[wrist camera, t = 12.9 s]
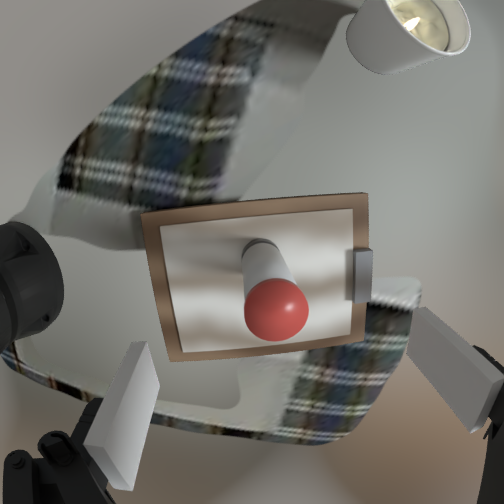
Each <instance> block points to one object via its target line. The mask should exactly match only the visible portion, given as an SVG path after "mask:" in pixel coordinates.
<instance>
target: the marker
mask: <svg viewBox="0 0 504 504" xmlns="http://www.w3.org/2000/svg"><path fill="white" fill-rule="evenodd" d="M241 258H242V272H243V286H244V300H245V302H244V319H245V323H246V325H247V327H248V329H249V330H250V331H251V332H252V333H253V334H254V335H255V336H256V337H258V338H260V339H263V340H266V341H273V342H276V341H283V340H286V339H289V338H291V337H293V336H294V335H296V334H297V333H298V332H299V331H300V330H301V329H302V328H303V327H304V325H305V323H306V321H307V319H308V315H309V306H308V302H307V300H306V298H305V296H304V294H303V292H302V291H301V289H300V288H299V287H298V286H297V284H296V282H295V280H294V278H293V276H292V274H291V272H290V270H289V268H288V266H287V264H286V262H285V260H284V258H283V256H282V255H281V253H280V251H279V249H278V247H277V246H276V244H275V243H273V242H272V241H270V240H268V239H264V238H258V239H254V240H252V241H250V242H249V243H248V244H247V245H246V246H245V247H244V249H243V251H242V256H241Z"/></svg>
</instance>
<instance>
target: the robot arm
mask: <svg viewBox="0 0 504 504" xmlns="http://www.w3.org/2000/svg"><path fill="white" fill-rule="evenodd" d="M63 300H64V284H63V278H62V273H61V270H60V267H59V264H58V261H57V259H56V257H55V255H54V253H53V251H52V249H51V248H50V246H49V245H48V243H47V242H46V241H45V239H44V238H43V237H42V236H41V235H40V234H39V233H38V232H37V231H36V230H34V229H33V228H31V227H30V226H28V225H26V224H23V223H19V222H9V223H6V224H3V225H0V354H1V353H2V352H3V351H4V350H5V349H6V348H7V347H8V346H9V345H10V344H11V343H12V342H13V341H15V340H18V339H21V338H25V337H28V336H31V335H34V334H37V333H40V332H42V331H43V330H45V329H46V328H47V327H48V326H49V325H50V324H51V323H52V322H53V321H54V320H55V319H56V318H57V317H58V315H59V313H60V311H61V308H62V305H63ZM406 354H407V355H408V356H409V357H410V359H411V360H412V361H413V362H414V364H415V365H416V366H417V367H418V368H419V370H420V371H421V372H422V373H423V374H424V376H425V377H426V378H427V379H428V380H429V382H430V383H431V384H432V385H433V387H434V388H435V389H436V390H437V392H438V393H439V394H440V395H441V397H442V398H443V399H444V400H445V402H446V403H447V404H448V405H449V407H450V408H451V409H452V410H453V412H454V413H455V414H456V416H457V417H458V418H459V419H460V421H461V422H462V423H463V425H464V426H465V427H466V428H467V430H468V431H469V432H470V433H471V432H474V431H476V430H478V429H480V428H482V427H483V426H484V424H485V422H486V420H487V418H488V417H489V418H490V419H491V420H492V422H491V424H490V426H489V428H488V429H487V431H486V433H485V435H484V437H483V439H485V438H486V437H487V435H488V434H489V435H488V444H487V452H486V459H485V465H484V471H483V476H482V482H481V486H480V491H479V496H478V500H477V504H504V367H503V366H502V365H501V364H499V363H498V362H497V361H495V359H494V358H493V357H490V355H489V354H488V353H487V352H486V351H485V350H484V349H482V348H479V347H477V346H475V345H474V346H471V345H470V344H469V343H468V342H467V341H465V340H464V339H463V338H462V337H461V336H460V335H458V334H457V333H456V332H455V331H454V330H453V329H451V328H450V327H449V326H448V325H447V324H446V323H444V322H443V321H442V320H441V319H440V318H439V317H437V316H436V315H435V314H433V313H432V312H431V311H430V310H429V309H428V308H426V307H421V308H417V309H413V316H412V323H411V330H410V336H409V342H408V347H407V353H406ZM159 388H160V384H159V382H158V378H157V375H156V372H155V369H154V365H153V361H152V358H151V355H150V351H149V347H148V344H147V341H142V342H141V341H140V342H132V343H131V345H130V347H129V349H128V351H127V352H126V355H125V356H124V358H123V360H122V362H121V364H120V366H119V368H118V371H117V372H116V374H115V376H114V379H113V381H112V383H111V385H110V387H109V389H108V391H107V393H106V395H105V397H104V398H94V399H93V400H92V401H90V402H89V403H88V404H87V405H86V407H85V409H84V411H83V413H82V416H81V417H80V419H79V422H78V423H77V425H76V427H75V429H74V431H73V433H72V435H71V437H69V436H68V435H67V433H64V432H62V431H51V432H48V433H47V434H45V435H44V436H43V437H42V438H41V439H40V440H39V442H38V450H39V452H40V453H41V455H42V456H43V457H44V458H37V459H36V458H35V459H33V458H32V457H31V455H30V454H29V453H28V452H27V451H25V450H15V451H12V452H11V453H9V454H8V455H7V457H6V458H5V461H4V471H3V504H116V503H115V501H114V500H113V498H112V497H111V495H110V494H109V492H108V491H107V489H106V486H107V483H108V481H109V483H110V484H111V485H112V486H113V488H114V489H120V490H129V491H133V487H134V483H135V478H136V475H137V470H138V466H139V462H140V458H141V454H142V450H143V446H144V443H145V439H146V435H147V431H148V427H149V424H150V420H151V416H152V413H153V409H154V405H155V402H156V398H157V395H158V391H159Z"/></svg>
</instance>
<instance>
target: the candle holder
mask: <svg viewBox="0 0 504 504" xmlns="http://www.w3.org/2000/svg"><path fill="white" fill-rule="evenodd" d="M470 36H471V31H470V24H469V20H468V17H467V15H466V13H465V10H464V9H463V7H462V5H461V3H460V2H459V0H365V2H364V3H363V4H362V6H361V7H360V9H359V10H358V11H357V13H356V14H355V16H354V17H353V19H352V20H351V22H350V24H349V26H348V28H347V31H346V40H347V44H348V47H349V49H350V51H351V53H352V55H353V56H354V57H355V59H356V60H357V61H358V62H359V63H360V64H361V65H362V66H364V67H365V68H367V69H368V70H370V71H372V72H375V73H378V74H382V75H393V74H397V73H400V72H403V71H405V70H409V69H411V68H414V67H417V66H420V65H423V64H426V63H429V62H432V61H435V60H438V59H441V58H444V57H448V56H453V55H457V54H459V53H461V52H463V51H464V50H465V49H466V48H467V46H468V44H469V42H470Z"/></svg>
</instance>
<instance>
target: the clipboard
mask: <svg viewBox="0 0 504 504" xmlns="http://www.w3.org/2000/svg"><path fill="white" fill-rule="evenodd" d="M140 215H141V222H142V229H143V235H144V242H145V248H146V254H147V259H148V265H149V270H150V276H151V280H152V286H153V291H154V296H155V301H156V305H157V310H158V314H159V319H160V323H161V328H162V331H163V336H164V340H165V344H166V348H167V352H168V356H169V360H170V362H180V361H200V360H214V359H215V360H216V359H230V358H241V357H252V356H262V355H271V354H280V353H288V352H296V351H303V350H310V349H317V348H324V347H330V346H336V345H342V344H348V343H354V342H359V341H364V330H365V317H366V303H367V302H371V288H372V264H373V251H372V250H371V249H370V248H369V246H368V245H369V217H368V216H369V215H368V193H363V192H361V193H340V194H324V195H308V196H294V197H281V198H268V199H258V200H246V201H235V202H225V203H215V204H206V205H197V206H188V207H180V208H171V209H163V210H155V211H148V212H143V213H141V214H140ZM258 238H264V239H268V240H270V241H272V242H273V243H275V244H276V246H277V247H278V249H279V251H280V253H281V255H282V256H283V258H284V260H285V262H286V264H287V266H288V268H289V270H290V272H291V274H292V276H293V278H294V280H295V282H296V284H297V286H298V287H299V288H300V289H301V291H302V292H303V294H304V296H305V298H306V300H307V302H308V306H309V315H308V319H307V321H306V323H305V325H304V327H303V328H302V329H301V330H300V331H299V332H298V333H297V334H296V335H294V336H293V337H291V338H289V339H286V340H283V341H276V342H273V341H266V340H263V339H260V338H258V337H256V336H255V335H254V334H253V333H252V332H251V331H250V330H249V329H248V327H247V325H246V323H245V319H244V302H245V300H244V286H243V272H242V258H241V256H242V251H243V249H244V247H245V246H246V245H247V244H248V243H249V242H250V241H252V240H254V239H258Z"/></svg>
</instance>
